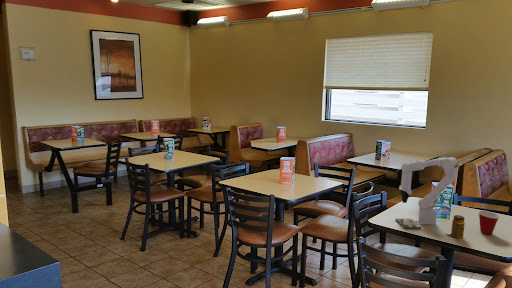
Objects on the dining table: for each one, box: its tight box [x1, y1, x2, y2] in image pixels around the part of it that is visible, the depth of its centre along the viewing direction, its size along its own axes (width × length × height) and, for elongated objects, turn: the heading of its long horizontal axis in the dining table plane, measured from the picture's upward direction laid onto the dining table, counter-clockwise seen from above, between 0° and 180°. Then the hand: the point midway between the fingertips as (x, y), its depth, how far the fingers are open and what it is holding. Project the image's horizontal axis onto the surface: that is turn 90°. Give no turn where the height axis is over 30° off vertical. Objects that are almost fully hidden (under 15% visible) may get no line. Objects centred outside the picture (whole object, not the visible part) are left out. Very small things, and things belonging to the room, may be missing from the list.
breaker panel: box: [395, 217, 422, 230], centre depth 237 cm, size 10×14×2 cm
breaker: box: [411, 218, 418, 225], centre depth 232 cm, size 2×3×3 cm, turn 0°
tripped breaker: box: [403, 219, 409, 225], centre depth 232 cm, size 2×3×3 cm, turn 0°
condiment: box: [444, 214, 467, 240], centre depth 219 cm, size 7×8×12 cm
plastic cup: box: [478, 210, 501, 236], centre depth 225 cm, size 11×11×12 cm
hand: (404, 202), depth 249 cm, fingers closed
